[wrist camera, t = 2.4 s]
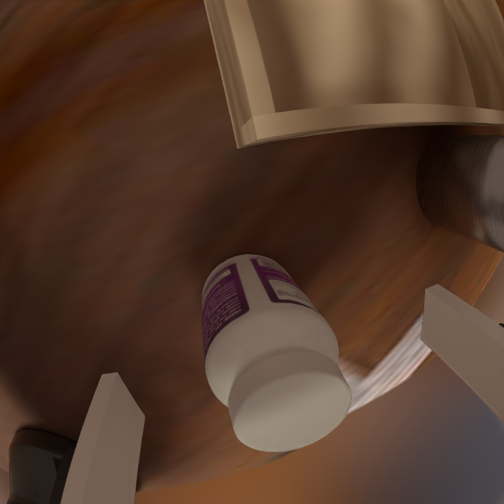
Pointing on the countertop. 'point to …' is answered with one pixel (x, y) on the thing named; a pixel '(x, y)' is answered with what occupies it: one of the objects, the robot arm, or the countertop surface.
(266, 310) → the pill bottle
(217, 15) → the caddy
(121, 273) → the countertop surface
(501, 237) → the tin can
